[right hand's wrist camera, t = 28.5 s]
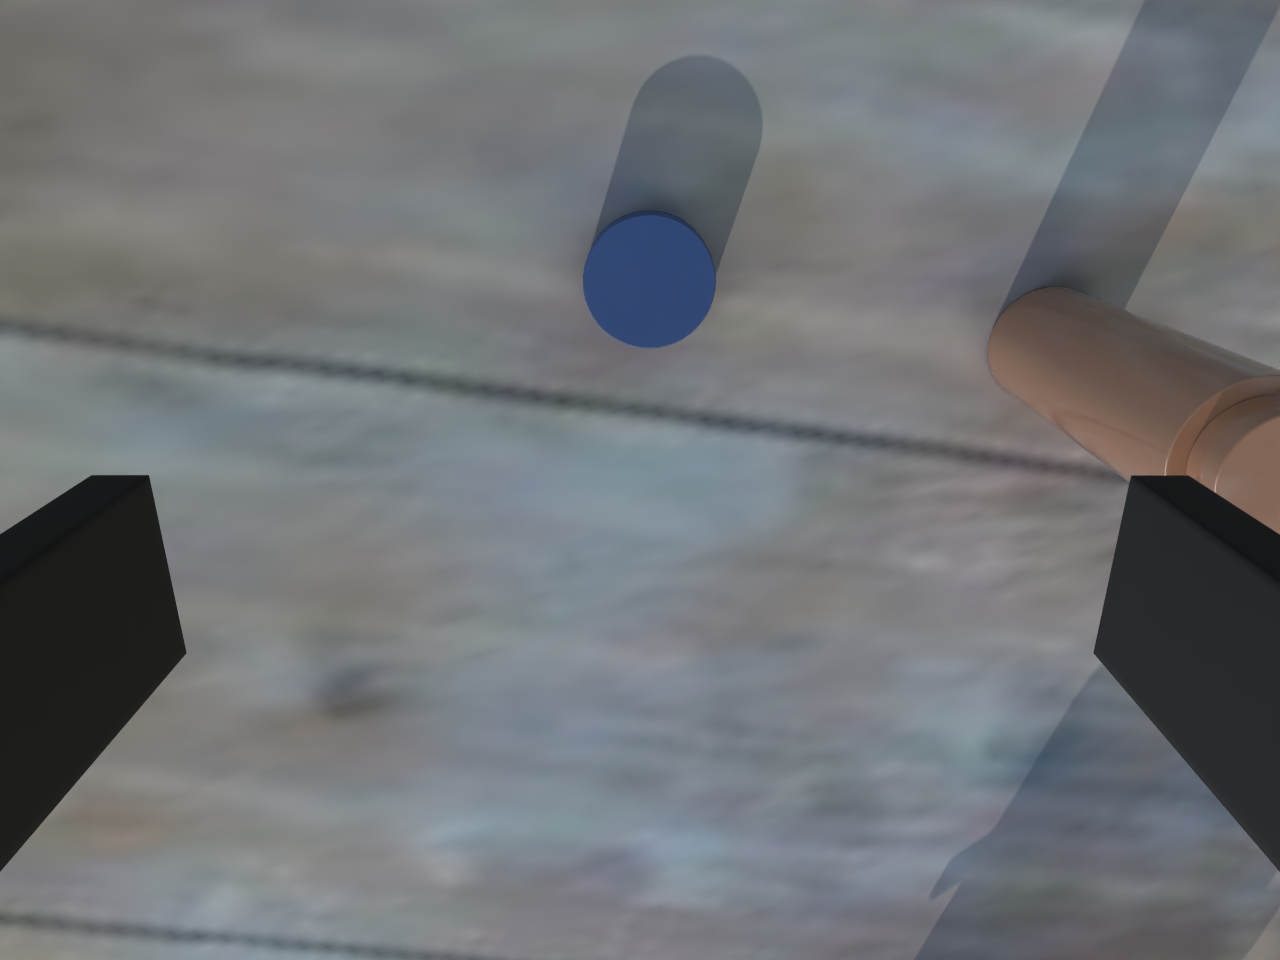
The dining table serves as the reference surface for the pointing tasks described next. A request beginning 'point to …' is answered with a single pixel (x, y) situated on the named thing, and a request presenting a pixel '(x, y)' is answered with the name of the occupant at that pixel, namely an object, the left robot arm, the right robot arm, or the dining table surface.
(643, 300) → the lid
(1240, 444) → the jar
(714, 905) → the dining table surface
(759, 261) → the dining table surface
